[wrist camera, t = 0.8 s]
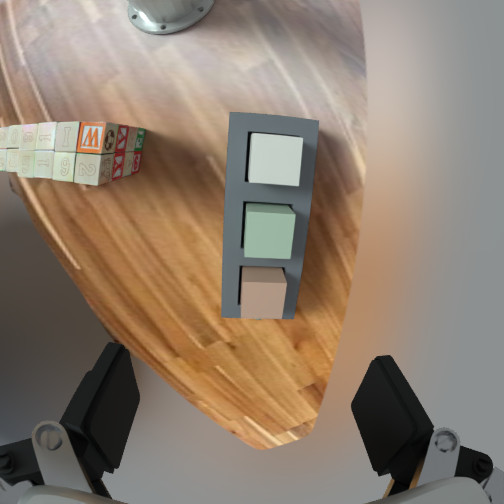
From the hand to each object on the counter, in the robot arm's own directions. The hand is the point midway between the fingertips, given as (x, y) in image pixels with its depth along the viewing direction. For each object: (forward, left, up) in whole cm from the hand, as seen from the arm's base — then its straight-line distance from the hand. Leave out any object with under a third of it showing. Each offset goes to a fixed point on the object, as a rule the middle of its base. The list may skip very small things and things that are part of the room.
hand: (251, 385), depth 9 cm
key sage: (+1, +3, -25) cm, 26 cm away
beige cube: (+9, +3, -25) cm, 27 cm away
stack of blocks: (-9, -24, -29) cm, 39 cm away
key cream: (-7, +3, -25) cm, 27 cm away
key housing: (+1, +3, -29) cm, 29 cm away
